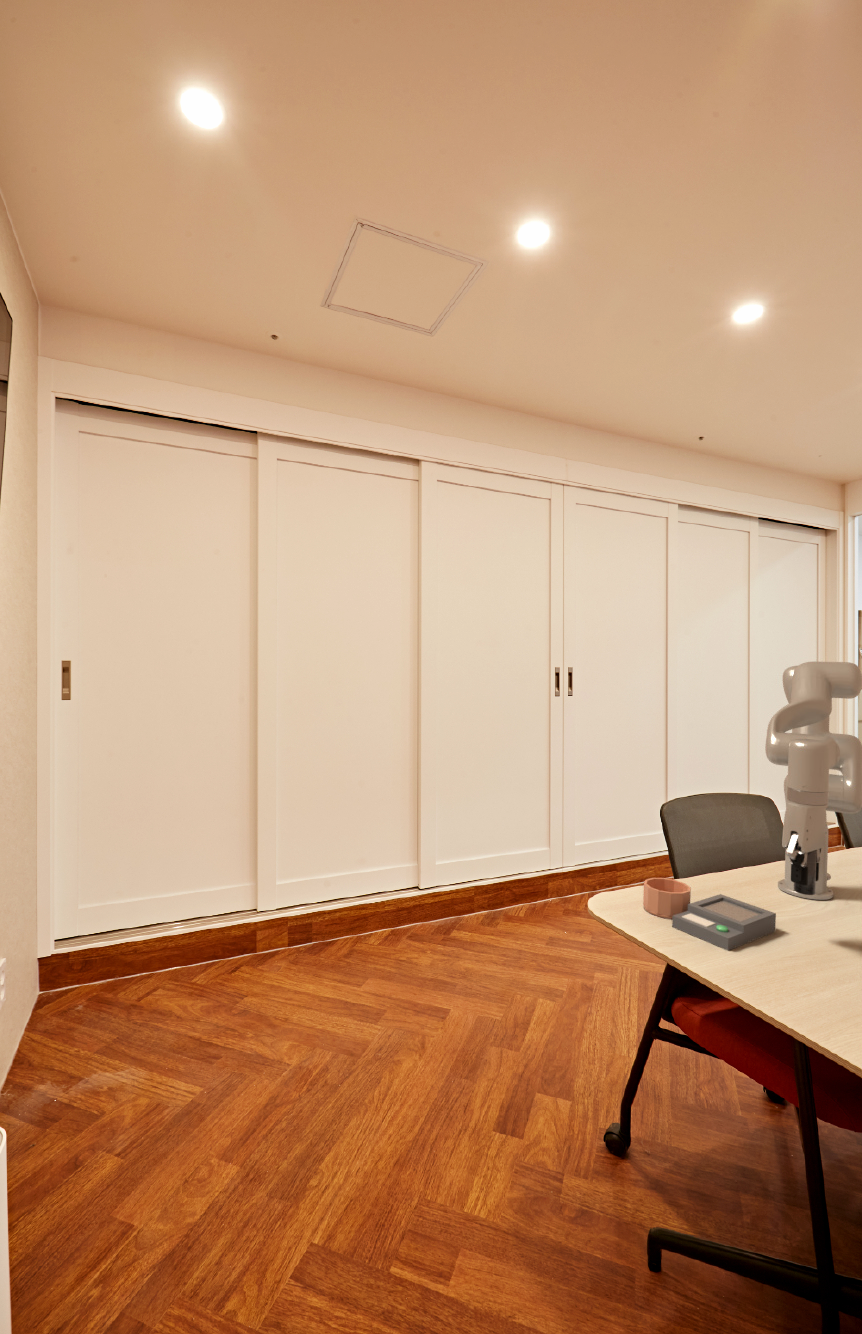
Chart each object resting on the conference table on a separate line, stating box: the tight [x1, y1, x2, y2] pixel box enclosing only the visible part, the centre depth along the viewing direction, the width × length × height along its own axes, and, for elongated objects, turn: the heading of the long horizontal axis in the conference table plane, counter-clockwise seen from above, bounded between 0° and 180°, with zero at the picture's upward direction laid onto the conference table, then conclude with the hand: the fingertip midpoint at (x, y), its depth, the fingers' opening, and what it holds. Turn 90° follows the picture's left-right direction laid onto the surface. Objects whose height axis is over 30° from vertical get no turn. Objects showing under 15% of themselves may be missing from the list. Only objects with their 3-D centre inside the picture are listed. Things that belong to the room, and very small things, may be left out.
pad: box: [703, 900, 760, 921], centre depth 138 cm, size 9×9×1 cm
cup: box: [642, 877, 692, 920], centre depth 146 cm, size 10×10×6 cm
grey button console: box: [671, 893, 777, 951], centre depth 136 cm, size 18×13×4 cm
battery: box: [794, 847, 817, 895], centre depth 132 cm, size 4×4×10 cm
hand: (804, 880), depth 132 cm, fingers closed on battery, 4 cm apart
